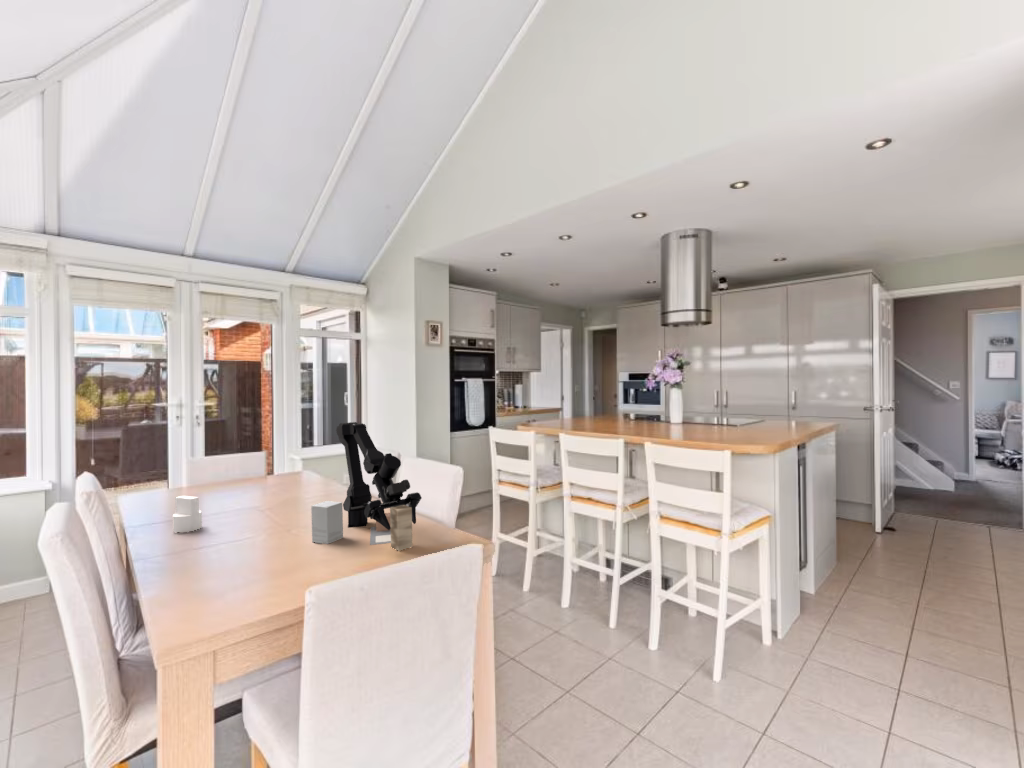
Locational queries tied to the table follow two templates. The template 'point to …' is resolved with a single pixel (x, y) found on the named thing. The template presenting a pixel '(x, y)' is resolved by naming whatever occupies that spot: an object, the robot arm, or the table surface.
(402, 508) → the beech post
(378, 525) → the terracotta block
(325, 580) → the table surface
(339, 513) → the supplement box
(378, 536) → the mat
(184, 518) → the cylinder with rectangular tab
